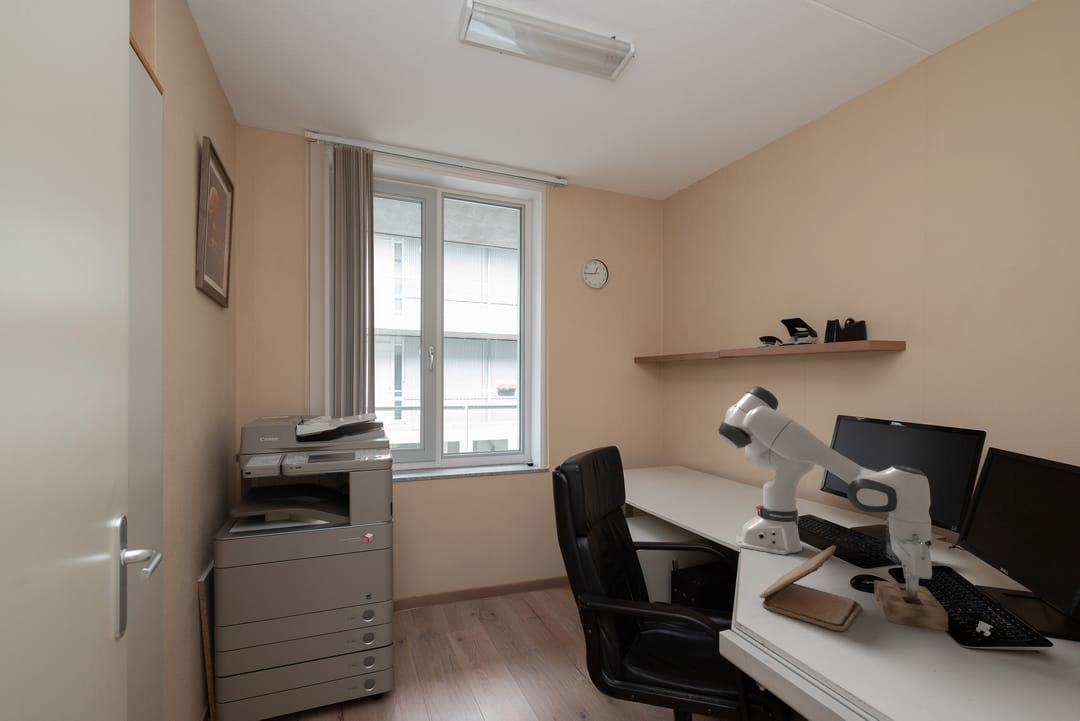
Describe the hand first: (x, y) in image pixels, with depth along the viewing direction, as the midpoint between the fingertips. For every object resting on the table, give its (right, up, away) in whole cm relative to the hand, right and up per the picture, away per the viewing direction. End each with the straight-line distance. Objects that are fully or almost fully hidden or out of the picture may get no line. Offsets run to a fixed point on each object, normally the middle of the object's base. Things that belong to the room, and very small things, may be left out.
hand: (911, 582), depth 128 cm
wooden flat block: (+2, -9, +3) cm, 10 cm away
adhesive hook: (+14, -10, -7) cm, 18 cm away
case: (-23, -10, +7) cm, 26 cm away
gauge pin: (0, -7, 0) cm, 7 cm away
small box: (+28, -10, +39) cm, 49 cm away
